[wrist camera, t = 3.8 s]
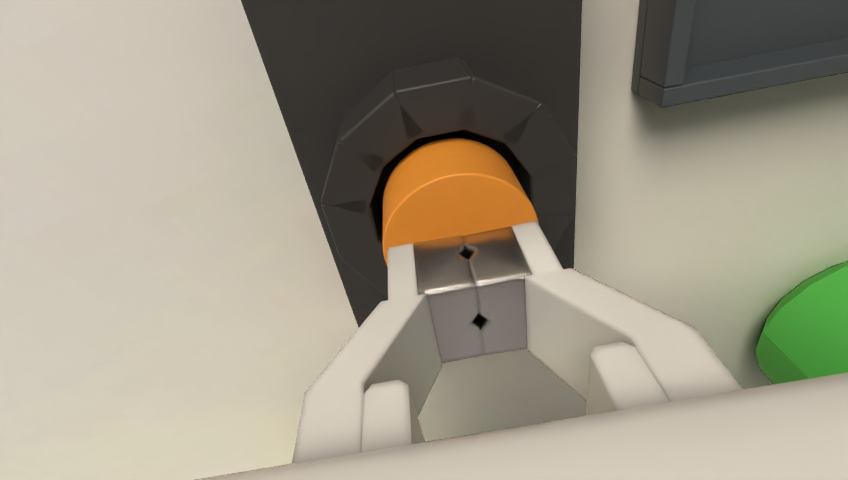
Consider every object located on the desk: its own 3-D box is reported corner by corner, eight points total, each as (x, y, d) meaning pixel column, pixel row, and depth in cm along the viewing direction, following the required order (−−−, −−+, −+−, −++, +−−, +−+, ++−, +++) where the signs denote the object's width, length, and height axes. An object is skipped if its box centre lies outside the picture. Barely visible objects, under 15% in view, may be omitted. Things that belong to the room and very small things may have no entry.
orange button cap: (368, 152, 11) (365, 191, 9) (513, 124, 11) (538, 159, 9) (397, 266, 13) (399, 315, 11) (520, 244, 13) (541, 290, 11)
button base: (246, -80, 12) (170, -94, 8) (544, -143, 11) (635, -193, 7) (370, 303, 20) (366, 400, 15) (548, 271, 19) (593, 361, 15)
